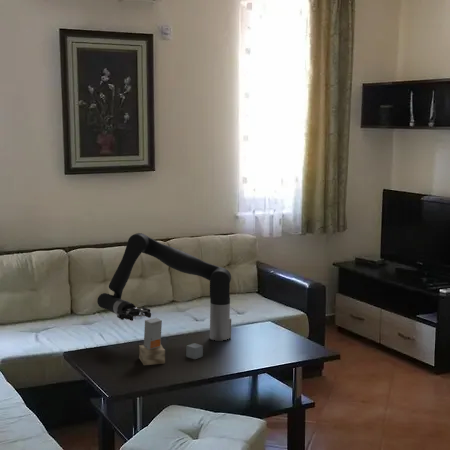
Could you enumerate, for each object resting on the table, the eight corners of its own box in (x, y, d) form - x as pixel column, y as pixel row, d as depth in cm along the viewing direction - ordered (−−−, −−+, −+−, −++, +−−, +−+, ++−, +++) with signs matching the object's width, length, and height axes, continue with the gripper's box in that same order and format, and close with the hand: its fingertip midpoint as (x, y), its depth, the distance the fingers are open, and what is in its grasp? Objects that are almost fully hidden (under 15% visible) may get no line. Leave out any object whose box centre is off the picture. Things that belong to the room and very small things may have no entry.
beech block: (160, 357, 297) (160, 343, 296) (164, 363, 289) (165, 350, 288) (139, 358, 294) (139, 345, 294) (143, 365, 286) (143, 351, 285)
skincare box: (149, 350, 287) (150, 323, 285) (143, 346, 291) (144, 320, 288) (161, 347, 291) (162, 320, 289) (155, 343, 294) (156, 317, 292)
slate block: (194, 354, 302) (194, 343, 301) (202, 356, 298) (202, 345, 298) (186, 356, 298) (186, 345, 297) (194, 359, 295) (194, 348, 294)
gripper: (109, 303, 308) (126, 310, 295) (138, 298, 316) (155, 306, 303) (110, 319, 309) (126, 328, 296) (138, 314, 317) (155, 322, 304)
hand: (141, 316), depth 299 cm, fingers open, 8 cm apart
